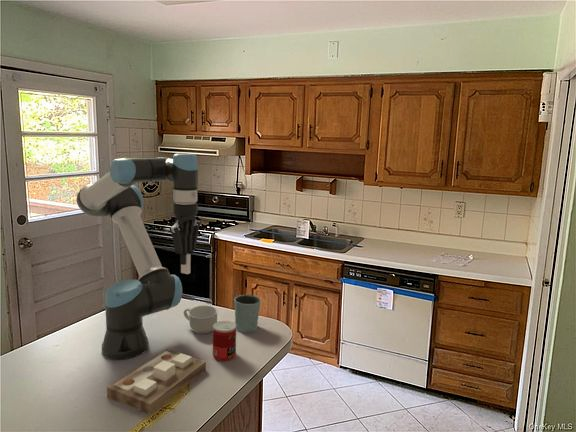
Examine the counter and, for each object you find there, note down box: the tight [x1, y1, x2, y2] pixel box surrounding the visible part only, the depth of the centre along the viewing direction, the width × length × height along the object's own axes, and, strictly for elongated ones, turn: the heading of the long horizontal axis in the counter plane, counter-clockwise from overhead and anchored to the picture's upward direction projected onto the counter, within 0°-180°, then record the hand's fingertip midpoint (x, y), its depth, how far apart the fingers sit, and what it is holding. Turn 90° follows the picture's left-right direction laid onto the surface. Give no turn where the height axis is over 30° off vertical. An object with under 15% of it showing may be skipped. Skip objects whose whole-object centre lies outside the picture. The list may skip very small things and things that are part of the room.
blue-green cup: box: [233, 294, 261, 334], centre depth 167 cm, size 10×10×12 cm
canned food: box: [212, 320, 237, 362], centre depth 145 cm, size 8×8×11 cm
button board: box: [106, 348, 207, 415], centre depth 129 cm, size 16×25×3 cm, turn 155°
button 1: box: [133, 378, 157, 396], centre depth 121 cm, size 4×4×4 cm
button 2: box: [172, 352, 193, 369], centre depth 135 cm, size 4×4×4 cm
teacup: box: [183, 304, 218, 335], centre depth 164 cm, size 14×11×8 cm
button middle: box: [153, 360, 175, 382], centre depth 128 cm, size 4×4×4 cm
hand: (185, 272), depth 141 cm, fingers closed
